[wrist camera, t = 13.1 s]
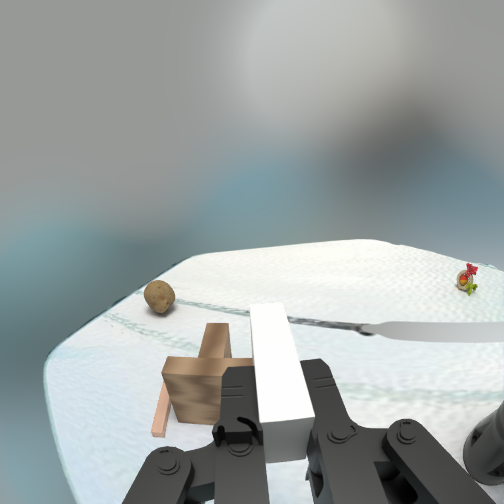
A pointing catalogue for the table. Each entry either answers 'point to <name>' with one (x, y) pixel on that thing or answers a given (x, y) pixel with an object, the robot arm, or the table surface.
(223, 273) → the table surface
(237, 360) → the tee block
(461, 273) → the bird rattle
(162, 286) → the brown round lump
